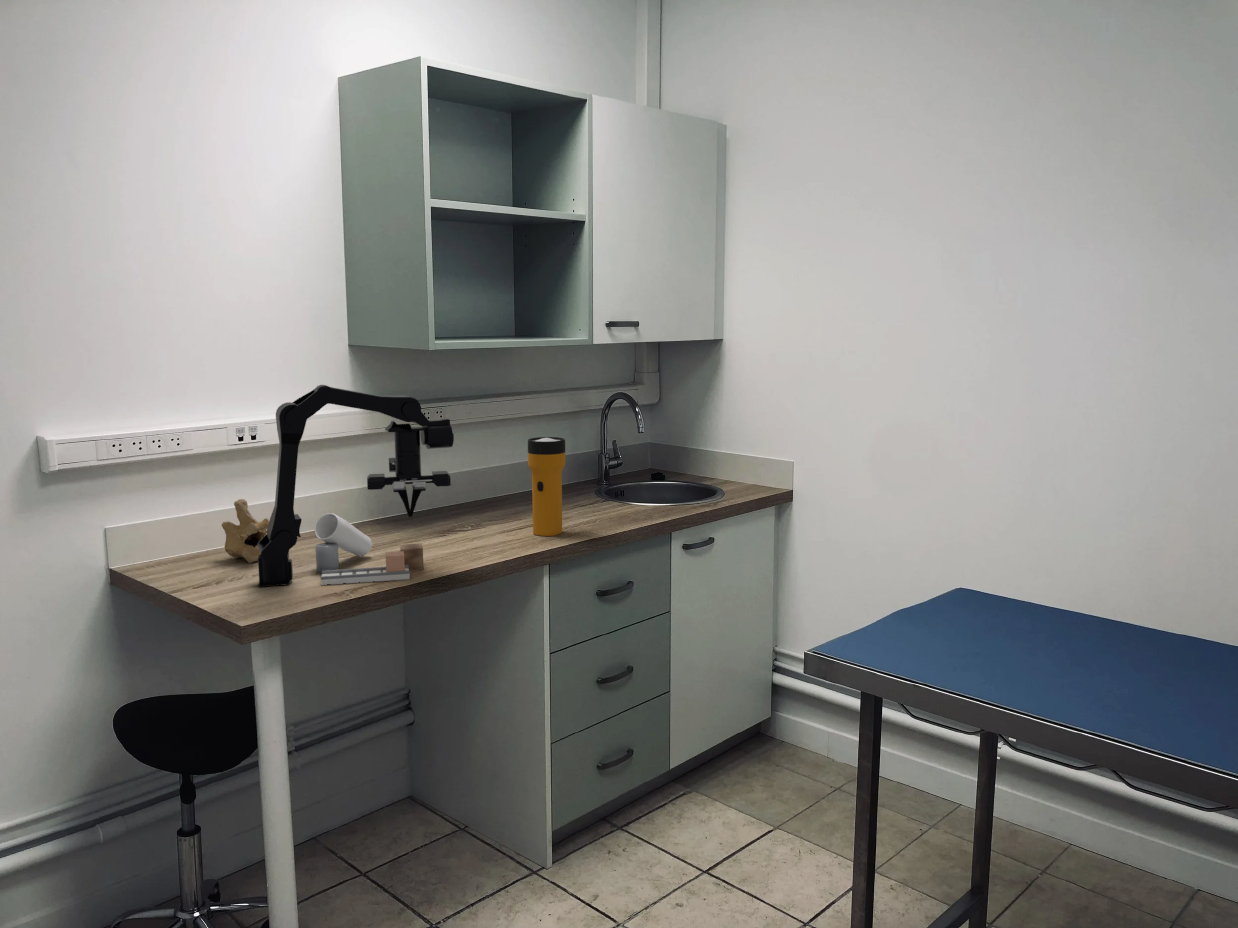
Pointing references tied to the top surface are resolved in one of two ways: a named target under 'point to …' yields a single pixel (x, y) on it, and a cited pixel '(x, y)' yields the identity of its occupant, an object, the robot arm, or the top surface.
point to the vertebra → (244, 534)
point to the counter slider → (395, 561)
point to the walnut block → (413, 555)
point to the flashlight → (546, 483)
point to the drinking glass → (342, 534)
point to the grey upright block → (327, 557)
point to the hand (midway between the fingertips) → (410, 516)
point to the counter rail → (362, 575)
